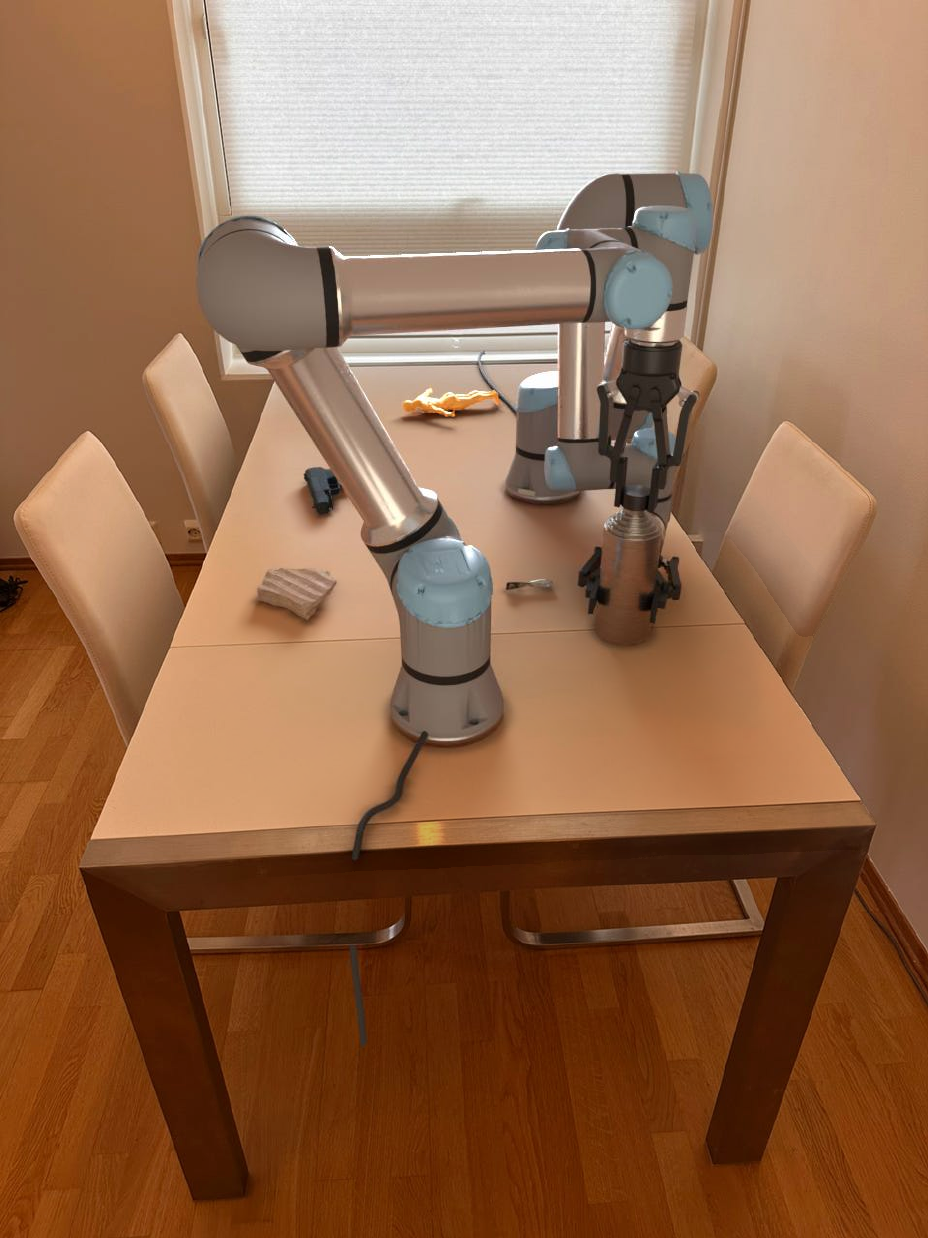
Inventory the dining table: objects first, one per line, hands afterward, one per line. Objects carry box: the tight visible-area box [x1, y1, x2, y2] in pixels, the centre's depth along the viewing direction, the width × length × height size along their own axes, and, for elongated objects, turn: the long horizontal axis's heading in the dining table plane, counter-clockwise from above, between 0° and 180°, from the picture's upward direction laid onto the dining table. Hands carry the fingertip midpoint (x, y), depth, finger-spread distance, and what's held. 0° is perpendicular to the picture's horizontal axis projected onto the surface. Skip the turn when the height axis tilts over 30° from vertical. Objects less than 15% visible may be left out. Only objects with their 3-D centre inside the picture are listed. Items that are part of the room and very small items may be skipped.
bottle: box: [594, 508, 663, 647], centre depth 132 cm, size 8×8×23 cm
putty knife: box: [505, 578, 554, 591], centre depth 148 cm, size 1×8×2 cm, turn 103°
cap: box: [620, 485, 650, 511], centre depth 126 cm, size 4×4×2 cm
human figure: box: [402, 385, 500, 418], centre depth 225 cm, size 20×20×4 cm
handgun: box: [303, 466, 343, 515], centre depth 181 cm, size 3×18×12 cm
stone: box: [256, 567, 337, 621], centre depth 147 cm, size 13×12×3 cm
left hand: (635, 505), depth 127 cm, fingers closed on cap, 4 cm apart
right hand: (621, 610), depth 131 cm, fingers closed on bottle, 8 cm apart
